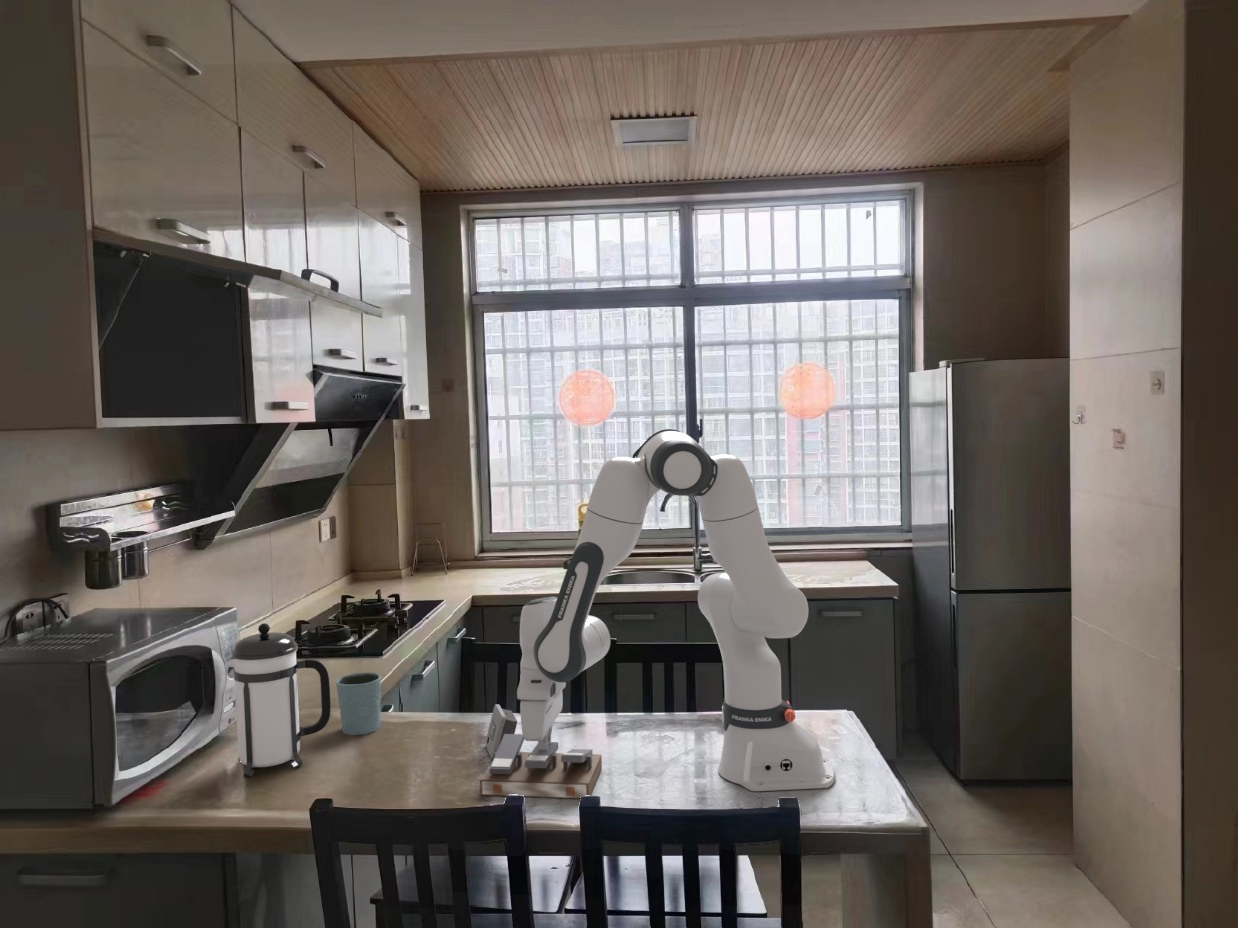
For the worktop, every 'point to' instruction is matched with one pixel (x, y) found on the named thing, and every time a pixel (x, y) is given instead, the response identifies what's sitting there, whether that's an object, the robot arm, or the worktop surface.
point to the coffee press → (271, 699)
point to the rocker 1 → (507, 754)
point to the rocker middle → (541, 756)
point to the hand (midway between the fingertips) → (544, 747)
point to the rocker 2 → (576, 755)
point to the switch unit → (545, 778)
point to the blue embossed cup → (359, 702)
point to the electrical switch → (499, 728)
